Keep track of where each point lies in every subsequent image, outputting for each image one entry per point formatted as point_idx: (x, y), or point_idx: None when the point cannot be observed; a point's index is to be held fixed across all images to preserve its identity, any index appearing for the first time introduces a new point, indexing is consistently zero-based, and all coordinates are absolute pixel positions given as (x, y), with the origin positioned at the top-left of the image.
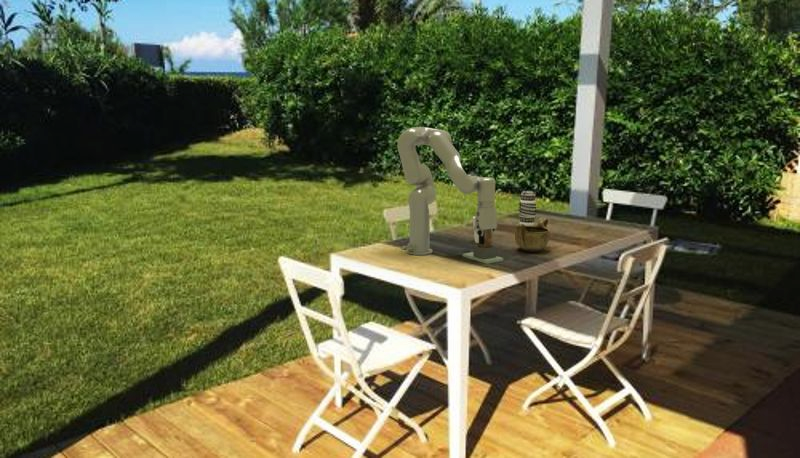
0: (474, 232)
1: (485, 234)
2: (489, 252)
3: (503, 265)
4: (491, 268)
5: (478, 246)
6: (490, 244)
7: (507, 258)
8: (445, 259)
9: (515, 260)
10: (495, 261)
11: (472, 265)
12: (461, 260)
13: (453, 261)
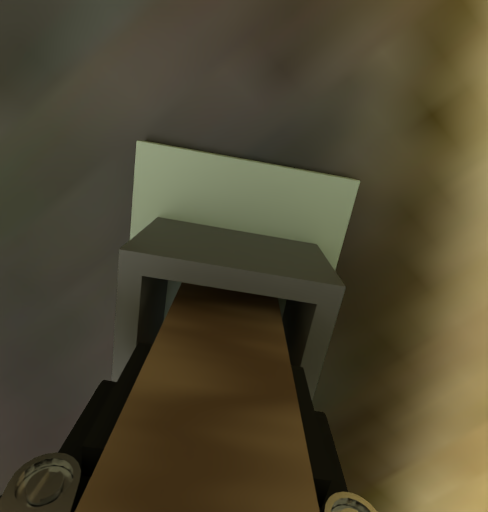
0: None
1: (300, 500)
2: (252, 251)
3: (294, 8)
4: (483, 25)
5: None
6: (175, 324)
7: (41, 165)
8: (434, 467)
9: (30, 50)
10: (244, 159)
11: (481, 235)
12: (388, 386)
13: (451, 405)
